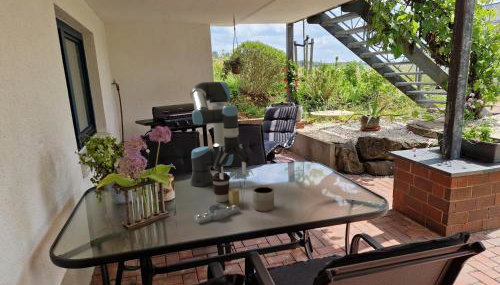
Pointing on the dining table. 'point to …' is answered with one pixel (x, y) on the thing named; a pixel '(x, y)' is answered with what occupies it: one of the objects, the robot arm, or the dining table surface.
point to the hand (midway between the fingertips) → (233, 176)
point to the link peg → (234, 197)
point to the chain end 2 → (227, 210)
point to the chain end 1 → (208, 215)
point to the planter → (263, 198)
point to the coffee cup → (221, 187)
